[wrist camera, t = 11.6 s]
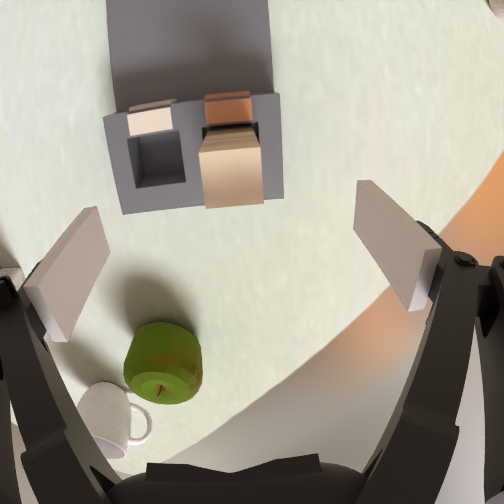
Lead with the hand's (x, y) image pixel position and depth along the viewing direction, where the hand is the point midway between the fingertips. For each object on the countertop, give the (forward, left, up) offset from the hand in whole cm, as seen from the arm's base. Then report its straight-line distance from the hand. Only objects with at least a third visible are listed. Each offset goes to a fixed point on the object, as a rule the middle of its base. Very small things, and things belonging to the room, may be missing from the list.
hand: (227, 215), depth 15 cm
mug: (+43, -27, -20) cm, 55 cm away
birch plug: (0, 0, -18) cm, 18 cm away
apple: (+28, -12, -20) cm, 37 cm away
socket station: (-7, -3, -20) cm, 21 cm away
